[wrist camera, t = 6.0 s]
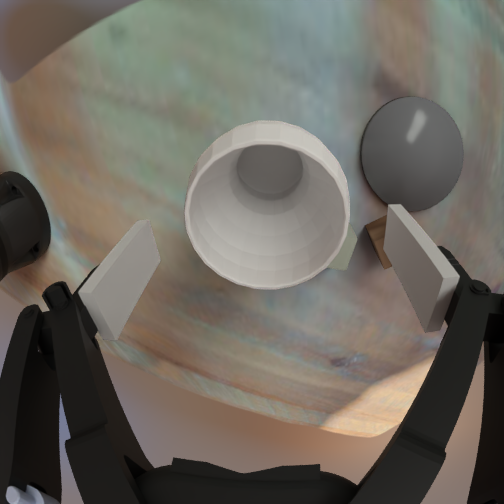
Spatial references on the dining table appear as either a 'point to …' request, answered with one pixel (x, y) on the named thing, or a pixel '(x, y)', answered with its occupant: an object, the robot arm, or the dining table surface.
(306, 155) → the cup
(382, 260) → the block
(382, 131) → the coaster
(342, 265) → the block
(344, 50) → the dining table surface
